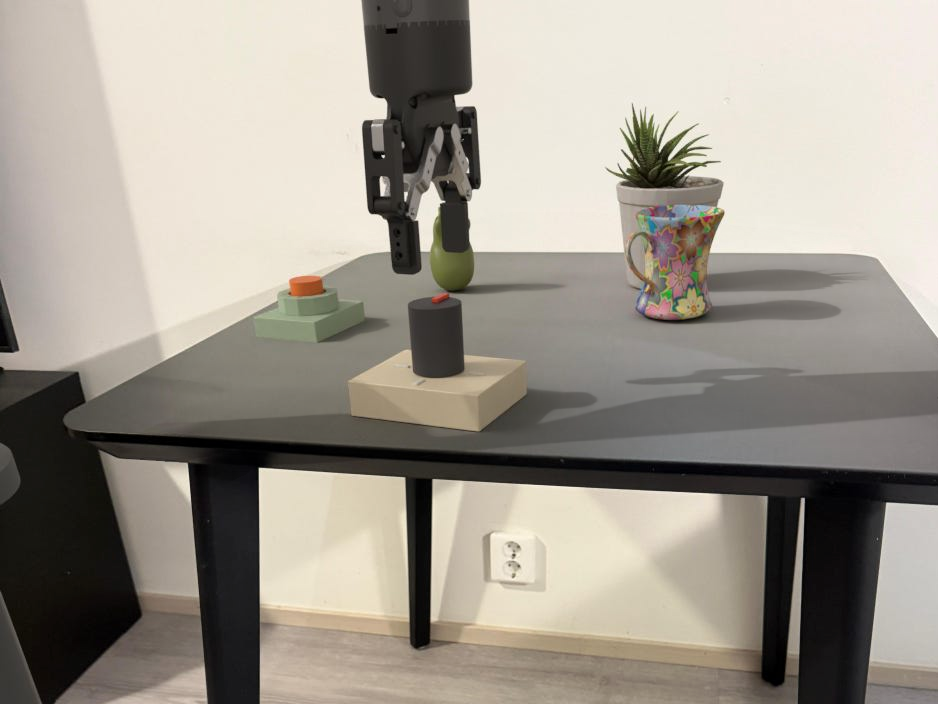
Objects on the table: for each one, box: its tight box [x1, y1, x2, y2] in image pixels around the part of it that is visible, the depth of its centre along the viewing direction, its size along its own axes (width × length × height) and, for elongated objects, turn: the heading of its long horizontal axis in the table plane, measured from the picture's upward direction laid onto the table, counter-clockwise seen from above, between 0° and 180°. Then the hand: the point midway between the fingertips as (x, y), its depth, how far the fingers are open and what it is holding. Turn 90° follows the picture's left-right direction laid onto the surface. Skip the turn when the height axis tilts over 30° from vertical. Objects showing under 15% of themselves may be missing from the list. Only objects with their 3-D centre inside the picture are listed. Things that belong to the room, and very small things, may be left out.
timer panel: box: [347, 349, 528, 433], centre depth 79 cm, size 10×12×3 cm
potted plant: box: [604, 102, 725, 290], centre depth 111 cm, size 13×14×20 cm
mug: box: [624, 205, 725, 321], centre depth 100 cm, size 12×9×11 cm
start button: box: [288, 275, 324, 296], centre depth 101 cm, size 4×4×2 cm
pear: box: [429, 206, 475, 292], centre depth 115 cm, size 6×5×10 cm
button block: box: [252, 285, 366, 343], centre depth 103 cm, size 10×8×4 cm
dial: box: [407, 292, 465, 378], centre depth 77 cm, size 4×4×6 cm
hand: (432, 262), depth 74 cm, fingers open, 8 cm apart
